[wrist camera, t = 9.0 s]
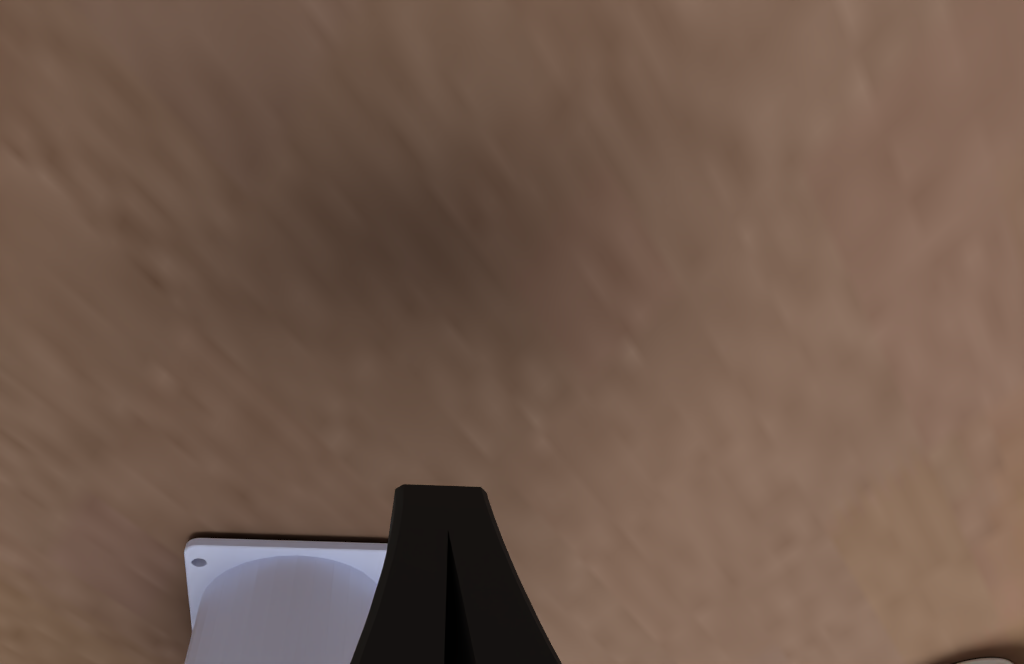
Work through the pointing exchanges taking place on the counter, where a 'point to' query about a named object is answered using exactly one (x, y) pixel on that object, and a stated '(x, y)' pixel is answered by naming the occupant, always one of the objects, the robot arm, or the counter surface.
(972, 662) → the lidded bowl
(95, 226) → the counter surface
